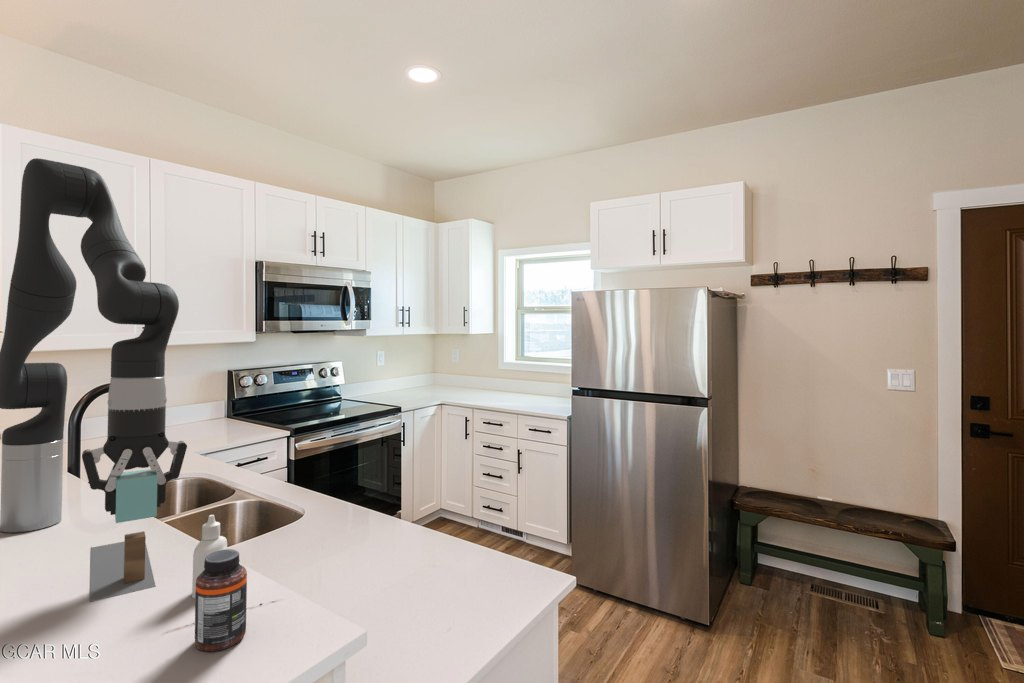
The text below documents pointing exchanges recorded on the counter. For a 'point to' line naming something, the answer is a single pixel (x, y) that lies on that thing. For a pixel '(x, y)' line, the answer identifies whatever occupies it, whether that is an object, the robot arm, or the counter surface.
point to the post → (134, 557)
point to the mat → (114, 572)
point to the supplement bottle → (220, 601)
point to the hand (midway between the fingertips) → (135, 509)
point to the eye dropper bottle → (207, 547)
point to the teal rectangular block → (136, 495)
